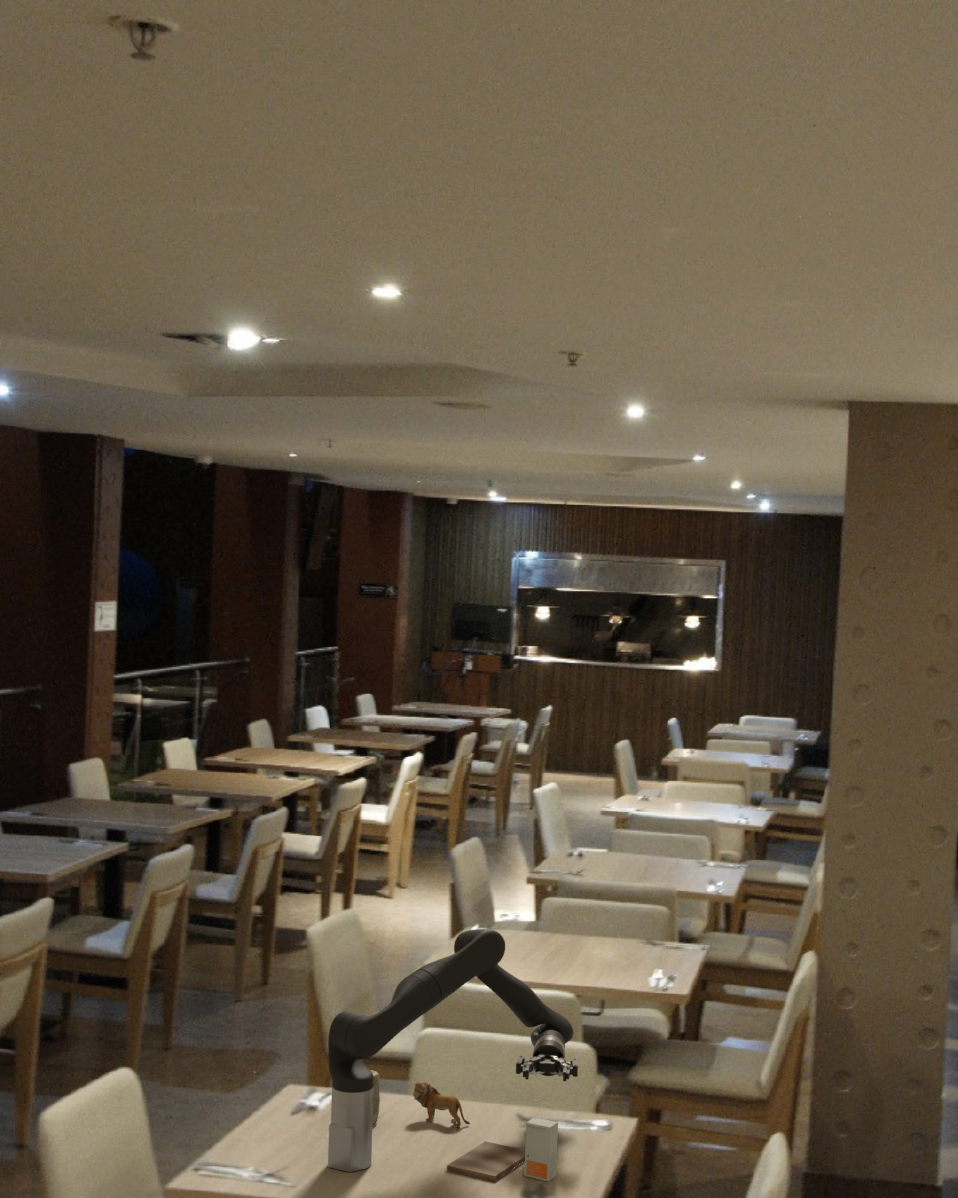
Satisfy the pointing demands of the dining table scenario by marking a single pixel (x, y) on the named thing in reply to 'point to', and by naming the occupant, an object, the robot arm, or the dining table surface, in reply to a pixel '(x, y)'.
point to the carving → (376, 1096)
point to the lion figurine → (437, 1102)
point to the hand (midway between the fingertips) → (545, 1076)
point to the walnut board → (488, 1161)
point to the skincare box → (541, 1149)
